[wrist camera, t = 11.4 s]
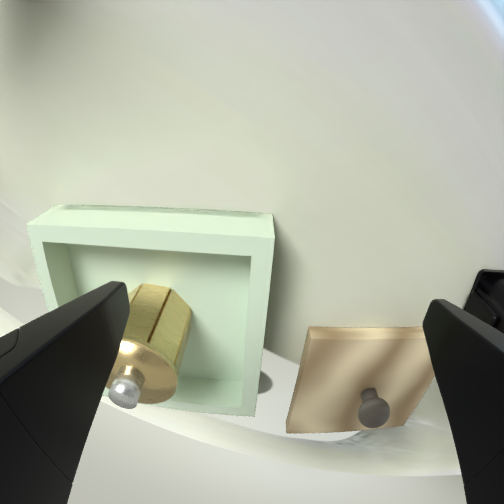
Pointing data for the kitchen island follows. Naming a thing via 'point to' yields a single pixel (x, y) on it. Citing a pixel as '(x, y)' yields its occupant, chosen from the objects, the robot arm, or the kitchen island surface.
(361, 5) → the kitchen island surface
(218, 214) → the bin
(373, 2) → the kitchen island surface
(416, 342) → the stud plate
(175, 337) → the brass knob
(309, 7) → the kitchen island surface
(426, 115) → the kitchen island surface
